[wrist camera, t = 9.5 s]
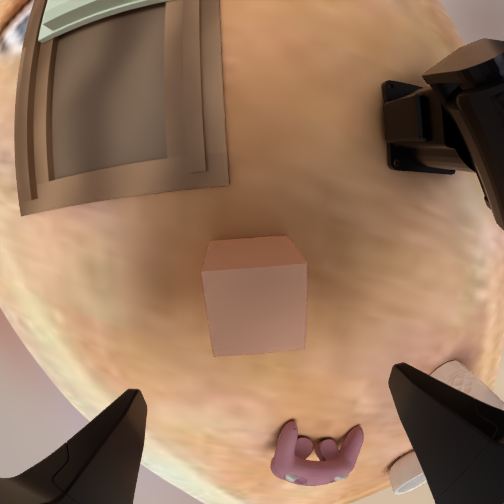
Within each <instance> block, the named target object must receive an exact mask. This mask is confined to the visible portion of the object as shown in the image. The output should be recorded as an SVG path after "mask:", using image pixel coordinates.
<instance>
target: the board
mask: <svg viewBox="0 0 504 504" xmlns="http://www.w3.org/2000/svg"><path fill="white" fill-rule="evenodd" d="M47 1H48V0H35V1H34V4H33V7H32V11H31V14H30V18H29V22H28V26H27V30H26V34H25V38H24V43H23V48H22V54H21V60H20V66H19V73H18V81H17V91H16V104H15V133H14V137H15V166H16V180H17V190H18V198H19V206H20V213H21V216H25V215H29V214H34V213H38V212H43V211H48V210H53V209H58V208H63V207H68V206H74V205H79V204H85V203H91V202H97V201H103V200H109V199H116V198H123V197H129V196H137V195H144V194H152V193H160V192H169V191H178V190H187V189H197V188H208V187H219V186H229V173H228V158H227V143H226V127H225V110H224V92H223V72H222V51H221V28H220V1H219V0H171V1H166V2H161V3H156V4H151V5H147V6H143V7H139V8H135V9H131V10H127V11H124V12H120V13H117V14H114V15H110V16H107V17H104V18H101V19H99V20H96V21H93V22H90V23H87V24H85V25H82V26H80V27H77V28H75V29H72V30H70V31H68V32H65V33H63V34H61V35H59V36H57V37H54V38H52V39H50V40H48V41H46V42H44V43H41V42H39V41H38V38H39V33H40V28H41V24H42V20H43V16H44V12H45V8H46V4H47Z"/></svg>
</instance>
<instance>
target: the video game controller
mask: <svg viewBox="0 0 504 504" xmlns="http://www.w3.org/2000/svg"><path fill="white" fill-rule="evenodd" d="M297 437H298V428H297V425H296V423H295V422H293V421H290V422H288V423H287V424H286V425H285V426H284V427H283V429H282V431H281V433H280V435H279V438H278V441H277V445H276V450H275V455H274V457H273V459H272V461H271V471H272V473H273V474H274V475H275V476H276V477H278V478H280V479H284V480H287V481H289V482H291V483H294V484H298V485H305V486H316V485H324V484H328V483H332V482H335V481H339V480H341V479H343V478H347V477H348V475H349V473H350V472H351V471H352V470H353V468H354V466H355V463H356V460H357V457H358V454H359V452H360V449H361V446H362V443H363V439H364V434H363V430H362V428H361V427H357V426H356V427H354V428H353V429H352V430H351V431H350V432H349V433H348V435H347V437H346V438H345V440H344V442H343V444H342V446H341V448H340V450H338V448H337V446H336V443H335V442H334V441H333V440H331V439H327V440H323V441H320V442H318V443H317V445H316V446H315V452H316V455H317V457H318V458H319V459H320V461H310V460H305V459H306V458H307V457H308V456H309V455H310V454H311V452H312V450H313V444H312V442H311V441H310V440H309V439H307V438H298V439H297Z"/></svg>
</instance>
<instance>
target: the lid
mask: <svg viewBox="0 0 504 504" xmlns="http://www.w3.org/2000/svg"><path fill="white" fill-rule="evenodd" d="M166 1H171V0H48V1H47V4H46V8H45V12H44V16H43V20H42V24H41V28H40V33H39V38H38V41H39V42H41V43H44V42H46V41H48V40H50V39H52V38H54V37H57V36H59V35H61V34H63V33H65V32H68V31H70V30H72V29H75V28H77V27H80V26H82V25H85V24H87V23H90V22H93V21H96V20H99V19H101V18H104V17H107V16H110V15H114V14H117V13H120V12H124V11H127V10H131V9H135V8H139V7H143V6H147V5H151V4H156V3H161V2H166Z"/></svg>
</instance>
